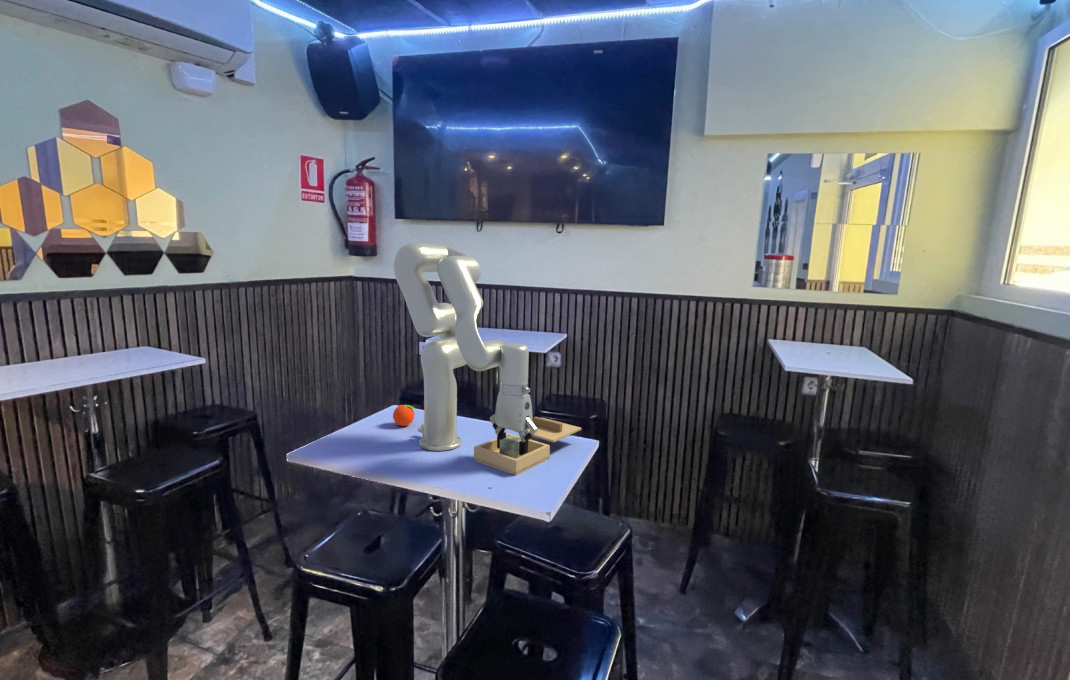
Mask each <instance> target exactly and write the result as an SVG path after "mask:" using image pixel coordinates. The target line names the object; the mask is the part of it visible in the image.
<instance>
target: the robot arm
mask: <svg viewBox="0 0 1070 680" xmlns="http://www.w3.org/2000/svg"><path fill="white" fill-rule="evenodd" d="M423 273H437V276H438V279H439V281H440V283H441V284H442V287H443V290H444V291H445V294H446V296H447V298H448V300H449V303H448V302H438V300H437V298H436V296H435V292H434V290H433V288H432V285H431V284H430V283H429V281H428V280H427V279H426V278H425V276H424V275H423ZM393 274H394V278H395V279H396V282H397V284H398V286H399V288H400V290H401V292H402V295H403V297H404V300H405V303H406V307H407V309H408V312H409V314H410V317H411V320H412V323H413V327H414V328H415V331H416V332H417V334H418V335H419V336H420V337H421V336H422V337H424V338H429V337H436V336H439V337H440V338H439V339H434V340H432V341H430V342H428V343H427V344H425V345H424V347H423V348H422V349H421V352H420V363H421V369H422V375H423V395H424V396H423V397H424V398H423V399H424V400H423V407H424V408H423V410H424V412H423V415H424V418H423V420H424V421H423V423H422V424H421V425H420V426H419V427H418V428H417V432H419V433H421V434H422V435H421V436H422V437H421V438H420V439H419V440H418V445H419V447H421V448H422V449H424V450H428V451H436V452H437V451H439V452H441V451H450V450H454V449H456V448H458V447H460V446H461V445H462V442H463V441H462V438H461V436H459V435H457V432H458V431H457V427H458V425H457V421H458V420H457V418H458V417H457V415H458V409H457V408H458V406H457V405H458V403H457V402H458V396H457V395H458V384H457V380H456V377H455V374H454V369H457V368H460V367H464V366H466V365H467V366H468V367H469V368H470V369H472V370H474V371H476V372H483V371H487V370H489V369H493V368H496V367H500V375H499V378H500V384H499V385H500V387H499V392H498V394H497V399H496V405H495V413H493V415H492V414H491V416H490V417H489V421H490V422H491V424H492V427H493V429H494V431H495V432H494V433H495V435H497V436H496V438H497V448H498V449H500V440H502V439H504V438H506V434H507V432H506V429H507V430H509V431H513V432H515V431H516V433H518V436H520V439H521V441H520V442H519V455H521V456H522V455H524V454H526V453H528V440H531V438H534V437H533V436H534V434H535V433H536V432H537V431H538V429H537V427H536V426H535V425H534V424H533V422H532V421H533V406H532V399H531V394H529V393H531V388H530V387H528V386H529V385H528V384H529V382H528V379H529V355H530V353H529V352H530V351H529V346H527V345H526V344H523V343H518V342H517V343H510V342H507V341H505V340H501V339H490V340H486V341H483V340H482V338H481V336H480V334H479V331H478V326H477V318H478V315H479V313H480V311H481V309H482V308H483V306H484V300H483V298H482V296H481V294H480V292H479V291H480V290H479V289H478V287H477V285H476V283H477V282H478V281H479V280H480V278H481V276H482V275H481V274H482V269H481V265H480V264H479V262H478V261H477V260H476V259H475V258H474V257H472V256H471V255H468V254H466V253H463V252H462V251H459V250H457V249H454V248H452V247H450V246H447V245H444V244H441V243H431V242H428V243H427V242H411V243H406V244H404V245H402V246H401V247H400V248H399V249H398V250H397V251H396V254H395V257H394V260H393ZM528 429H530V431H529V432H528ZM523 432H524V434H523Z"/></svg>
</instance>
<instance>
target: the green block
mask: <svg viewBox="0 0 1070 680" xmlns="http://www.w3.org/2000/svg"><path fill="white" fill-rule="evenodd" d="M520 441H521V439H520V438H518V437H514V436H509V437H507V438H504V439H502V440H500V454H503V455H506V456H509V457H512V458H515V459H516V458H519V457H521V455H519V442H520ZM524 455H525V454H524ZM522 456H523V455H522Z"/></svg>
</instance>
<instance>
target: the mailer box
mask: <svg viewBox="0 0 1070 680" xmlns="http://www.w3.org/2000/svg"><path fill="white" fill-rule="evenodd" d="M509 436H514V437H518V438H520V436H519V435H515V434H512V433H509V432H508V433H506V438H507V437H509ZM550 446H551V445H550V444H547V443H543V442H540V441H537V440H533V439H530V440H528V453H526V454H525V455H523V456H521V457H519V458H516V459H515V458H512V457H509V456H506V455H503V454H500V449H498V448H497V437H496V438H494V439H490V440H489V441H486V442H483V443H481V444H477V445H475V446H474V447H473V461H475V462H476V463H480V464H482V465H485V466H488V467H491V468H494V469H496V470H500V471H503V472H505V473H507V474H511V475H514V476H517V475H520V474H522V473H524V472H526V471H528V470H529V469H532V468H534V467H535V466H537V465H540V464H542V463H544V462H546V461H548V460H549V459H550V453H551V451H550V450H551V449H550Z"/></svg>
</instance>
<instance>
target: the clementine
mask: <svg viewBox="0 0 1070 680" xmlns="http://www.w3.org/2000/svg"><path fill="white" fill-rule="evenodd" d="M414 410H415V411H417V409H416V408H415V407H414V406H412V405H409V404H400V405H398V406H397V407H396V408H395V409H394V410H393V413H392V419H393V421H394V423H395V424H396V425H397V426H401V427H406V426H409V425H410V424H412V423H413V422H414V419H415V411H414Z"/></svg>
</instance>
